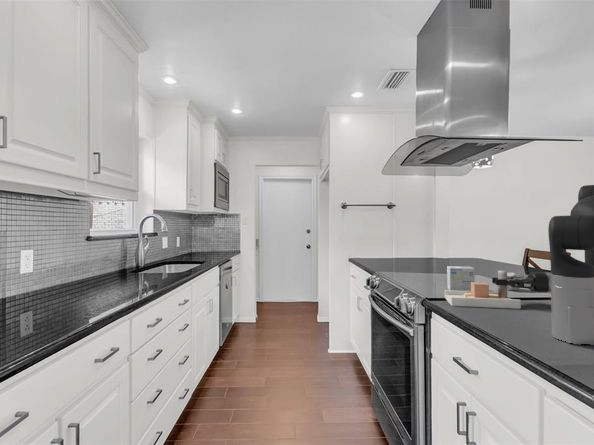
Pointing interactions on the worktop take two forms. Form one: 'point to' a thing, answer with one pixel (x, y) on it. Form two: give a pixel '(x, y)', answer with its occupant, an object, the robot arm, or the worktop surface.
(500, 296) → the plate with upright post
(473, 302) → the tray
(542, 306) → the worktop surface
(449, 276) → the light bulb box
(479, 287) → the block
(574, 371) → the worktop surface
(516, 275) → the die
